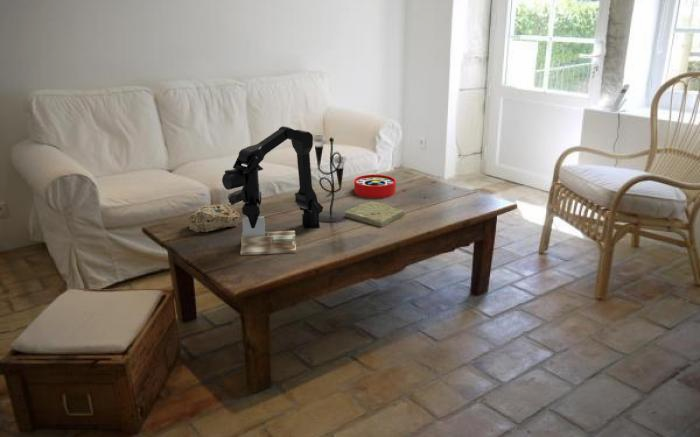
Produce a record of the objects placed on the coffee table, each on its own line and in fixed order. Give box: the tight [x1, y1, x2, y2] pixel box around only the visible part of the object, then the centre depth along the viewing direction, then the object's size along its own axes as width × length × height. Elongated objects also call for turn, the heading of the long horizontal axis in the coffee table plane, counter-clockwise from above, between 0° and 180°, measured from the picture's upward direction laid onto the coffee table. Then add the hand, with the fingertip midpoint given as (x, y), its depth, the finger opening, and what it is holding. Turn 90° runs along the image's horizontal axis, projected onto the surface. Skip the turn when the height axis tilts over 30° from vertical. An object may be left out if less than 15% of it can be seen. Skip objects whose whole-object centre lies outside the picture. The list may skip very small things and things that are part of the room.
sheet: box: [241, 215, 266, 237], centre depth 215 cm, size 8×2×10 cm, turn 96°
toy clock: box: [353, 174, 397, 199], centre depth 278 cm, size 20×6×20 cm
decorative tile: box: [344, 200, 405, 228], centre depth 246 cm, size 19×20×4 cm
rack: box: [240, 230, 297, 256], centre depth 215 cm, size 20×14×4 cm
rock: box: [188, 203, 241, 233], centre depth 235 cm, size 21×14×10 cm
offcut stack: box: [270, 235, 296, 249], centre depth 212 cm, size 9×4×4 cm, turn 96°
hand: (253, 223), depth 214 cm, fingers open, 9 cm apart
